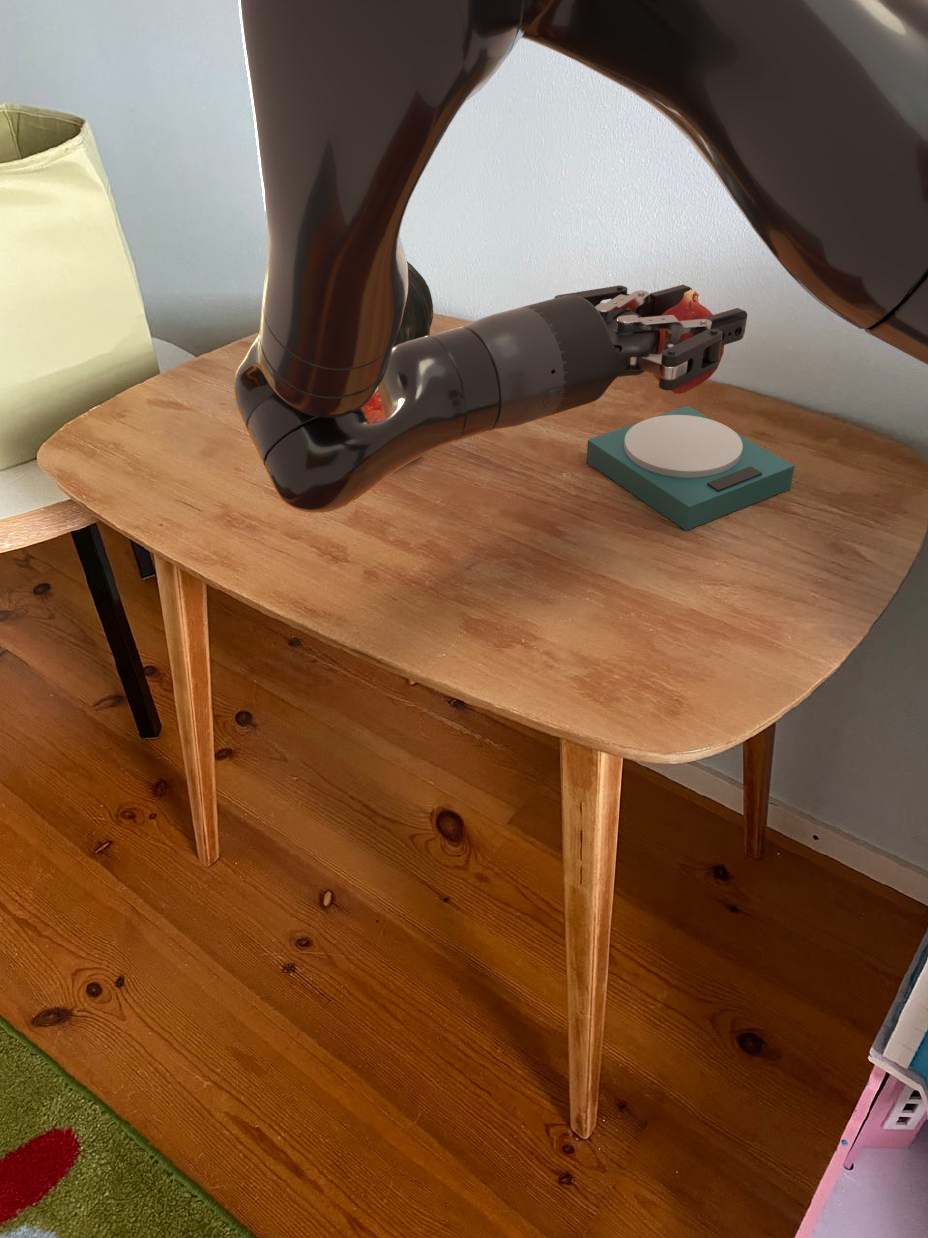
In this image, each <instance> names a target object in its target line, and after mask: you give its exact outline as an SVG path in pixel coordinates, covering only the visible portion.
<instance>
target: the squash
mask: <svg viewBox="0 0 928 1238" xmlns="http://www.w3.org/2000/svg"><path fill="white" fill-rule="evenodd" d="M407 265H408V293H407V299H406V305H405V309H404V313H403V317H402V321H401V325H400V329H399V332H398V335H397V338H396V341H395V344H394V346H396V345H398V344H401V343H403V342H406V341H410V340H414V339H417V338H421V337H425V336H429V335H431V326H432V324H433V319H434V304H433V297H432V294H431V290H430V287H429V285H428V283H427V281H426V280H425V278H424V277H423V275H422V274H421V273H420V272H419V271H418V270H417V269H416V267H414V266H413V264H411V263H410V262H409V261H408V260H407Z"/></svg>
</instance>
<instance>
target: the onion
mask: <svg viewBox="0 0 928 1238" xmlns="http://www.w3.org/2000/svg"><path fill="white" fill-rule="evenodd" d="M699 296H700V294H699V293H698V292H697V291H695V289H692V290H691V289H690V290H689V291H687V292H685V293H684V298H683V299H682V301H681V302H680V303H679V304H678V305H676V306H674V307H672V308H670V309H668V310H667V311H665V312H664V313H663V314H662V315H661V316H664V315H674V316H675V317H676V318H677V319H678V320H679V321H684V320H695V319H703V318H704V317H708V316H711V315H714V313H712V311H710V309H709V308H707V307H705V306H704V305H703V304H701V303H700V301H699V299H698V298H699ZM659 331H660V344H659V351H658V353H657V354H660V353H661V352H662V351H663V348H664V338H665V329H661V330H659ZM691 337H693V333H685V334H683V335H682V336H681V338H680V343H681V342H683V341H685V340H687V339H689V338H691ZM724 352H725V345H723V346H721V349H720V356H719V364H718V367H717V368H715V369H713V370H711V371H709V372H707V373H705V374H703V375H701V376H699V377H697V378H696V379H694V380H692V381H690V382H688V383H686V384H684V385H682V386H680V387H678V388H676V389H674V390H670V391H671V392H672V393H673V394H677V395H682V394H684V393H686V392H689V391H691V390H693V389H695V388H697V387H698V386H700V385H701V384H703V383H704V382H705V381H707V380H709V379H710V378H711V377H712V376H713V375H714V373H715V372H716V371H717V369H718V368H719V365H720V363H721V361H722V358H723V356H724ZM652 375H653V376H654V377H655V379H656V380H657V381H658V382H659V378H660V376H657V375H654V374H652Z"/></svg>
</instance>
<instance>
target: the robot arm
mask: <svg viewBox="0 0 928 1238" xmlns="http://www.w3.org/2000/svg"><path fill="white" fill-rule="evenodd" d="M238 7H239V17H240V18H239V20H240V24H241V25H240V26H241V33H242V35H241V36H242V43H243V49H244V57H245V65H246V71H247V77H248V85H249V91H250V99H251V105H252V113H253V121H254V130H255V139H256V140H255V141H256V146H257V148H256V149H257V155H258V164H259V173H260V180H261V187H262V196H263V203H264V204H263V205H264V215H265V224H266V225H265V226H266V227H265V229H266V261H265V263H266V264H265V274H264V283H263V292H262V302H261V313H260V321H259V322H260V323H259V334H258V335H257V336H256V338H255V340H254V341H253V342H252V344H251V346H250V347H249V349H248V351H247V353H246V355H245V356H244V358H243V359H242V361H241V362H240V364H239V366H238V367H237V369H236V372H235V375H234V381H233V383H234V384H233V387H234V396H235V402H236V406H237V410H238V413H239V415H240V418H241V420H242V422H243V424H244V427H245V429H246V431H247V432H248V434H249V437H250V439H251V441H252V443H253V445H254V447H255V449H256V451H257V454H258V456H259V458H260V460H261V462H262V464H263V466H264V469H265V471H266V473H267V475H268V477H269V479H270V482H271V484H272V486H273V488H274V490H275V491H276V493H277V495H278V496H279V498H280V499H281V500H282V501H283V502H284V503H285V504H286V505H287V506H289V507H291V508H293V509H294V510H298V511H301V512H305V513H312V514H316V513H317V514H318V513H319V514H320V513H321V514H322V513H323V514H324V513H328V512H330V513H331V512H333V511H336V510H339V509H342V508H343V507H346V506H348V505H350V504H351V503H353V502H354V501H356V500H358V499H359V498H360V497H362V496H363V495H365V494H366V493H368V492H369V491H370V490H371V489H373V488H374V487H375V486H377V485H378V484H379V483H381V482H382V481H383V480H385V479H386V478H388V477H389V476H391V475H392V474H394V473H395V472H397V471H398V470H400V469H402V468H403V467H406V466H407V465H408V464H410V463H412V462H414V461H415V460H417V459H418V458H421V457H423V456H424V455H426V454H428V453H430V452H432V451H434V450H436V449H438V448H440V447H443V446H445V445H448V444H452V443H455V442H458V441H461V440H464V439H467V438H471V437H474V436H478V435H480V434H484V433H486V432H491V431H494V430H495V431H496V430H499V429H507V428H512V427H517V426H522V425H525V424H528V423H531V422H534V421H537V420H540V419H544V418H546V417H550V416H553V415H556V414H559V413H562V412H566V411H569V410H571V409H575V408H579V407H581V406H584V405H587V404H590V403H594V402H596V401H597V400H599V399H601V398H602V396H604V394H605V393H606V392H607V390H608V389H609V387H610V386H611V385H612V384H613V383H614V381H615V380H616V379H618V378H621V377H631V376H632V377H635V376H639V375H642V374H644V373H645V372H646V373H649V374H652V375H653V374H654V375H657V376H660V378H659V381H658V388H659V389H661V390H662V391H671V390H674V389H676V388H678V387H680V386H682V385H684V384H686V383H688V382H690V381H692V380H694V379H696V378H697V377H699V376H701V375H703V374H705V373H707V372H709V371H711V370H713V369H715V368H717V367H718V368H719V366H718V364H719V365H720V363H719V356H720V349H721V346H723V345H724V346H726V345H729V344H732V343H735V342H736V343H737V342H739V341H741V340H742V339H744V335H745V332H746V326H747V321H748V312H747V311H746V310H744V309H741V308H739V307H735V308H733V309H728V310H726V311H722V312H718V313H714V314H713V315H711V316H708V317H704V318H703V319H695V320H684V321H679V320H678V319H677V318H676V317H675V316H674V315H664V316H661V315H662V314H663V313H664V312H665V311H667V310H668V309H670V308H672V307H674V306H676V305H678V304H679V303H680V302H681V301H682V299H683V298H684V293H685V292H687V291H689V290H690V289H691V290H693V288H692V287H690V286H688V285H686V284H679V285H677V286H673V287H668V288H665V289H661V290H657V291H654V292H651V293H649V292H648V291H645V290H635V291H633V292H632V293H628V287H627V286H625V285H622V284H621V285H619V284H618V285H613V286H606V287H600V288H595V289H587V290H582V291H576V292H570V293H563V294H557V295H555V296H554V297H553V298H551V299H548V300H543V301H539V302H536V303H532V304H528V305H525V306H520V307H516V308H513V309H509V310H506V311H502V312H497V313H494V314H490V315H487V316H484V317H481V318H479V319H477V320H474V321H472V322H470V323H468V324H466V325H462V326H460V327H456V328H451V329H448V330H444V331H440V332H436V333H433V334H430V335H429V336H425V337H421V338H417V339H414V340H410V341H406V342H403V343H401V344H398V345H396V346H394V344H395V341H396V338H397V335H398V332H399V329H400V325H401V321H402V317H403V313H404V309H405V305H406V299H407V293H408V265H407V261H408V260H407V256H406V252H405V249H404V245H403V242H402V240H401V236H400V235H401V230H402V225H403V221H404V218H405V214H406V211H407V209H408V206H409V203H410V201H411V198H412V196H413V194H414V192H415V190H416V188H417V186H418V184H419V182H420V180H421V178H422V176H423V174H424V172H425V170H426V168H427V166H428V165H429V163H430V161H431V159H432V157H433V155H434V153H435V152H436V150H437V148H438V147H439V145H440V143H441V141H442V140H443V138H444V136H445V134H446V132H447V131H448V129H449V127H450V125H451V124H452V123H453V121H454V119H455V118H456V117H457V115H458V113H459V112H460V110H461V109H462V108H463V106H464V105H465V103H467V101H468V100H470V99H471V98H472V97H474V96H475V95H477V94H478V93H479V92H481V90H483V88H484V87H486V85H487V84H488V83H489V81H491V79H492V78H493V76H494V75H495V74H496V73H497V72H498V70H499V69H500V68H501V66H502V64H503V63H504V62H505V60H506V59H507V58H508V56H509V55H510V53H511V52H512V50H513V49H514V48H515V47H516V45H517V44H518V42H520V40H521V39H523V40H525V41H529V42H532V43H534V44H537V45H539V46H542V47H544V48H548V49H549V50H551V51H555V52H556V53H558V54H561V55H563V56H565V57H567V58H569V59H571V60H573V61H575V62H576V63H579V64H580V65H582V66H584V67H586V68H588V69H589V70H591V71H593V72H595V73H597V74H598V75H601V76H602V77H604V78H606V79H608V80H610V81H612V82H614V83H615V84H617V85H619V86H621V87H623V88H624V89H626V90H628V91H629V92H630V93H632V94H634V95H635V96H636V97H638V98H639V99H641V100H643V101H644V102H646V103H647V104H649V105H650V106H651V107H652V108H654V109H655V110H656V111H658V112H659V113H660V114H661V115H662V116H664V118H666V120H668V121H669V122H670V123H671V124H672V125H673V127H675V128H676V129H677V130H678V131H679V132H680V133H681V135H683V136H684V137H685V138H686V139H687V140H688V142H689V143H690V144H691V146H692V147H693V148H694V149H695V150H696V151H697V153H698V154H699V156H700V157H701V158H702V159H703V160H704V162H705V163H706V164H707V165H708V167H709V168H710V169H711V171H712V172H713V173H714V175H715V177H716V178H717V179H718V181H719V182H720V184H721V186H722V187H723V188H724V189H725V191H726V192H727V194H728V196H729V197H730V198H731V199H732V201H733V203H734V204H735V206H736V207H737V208H738V210H739V211H740V213H741V214H742V216H743V217H744V218H745V219H746V221H747V222H748V224H749V225H750V227H751V228H752V230H753V231H754V232H755V234H756V236H758V237H759V239H760V240H761V242H763V244H764V246H765V247H766V248H767V249H768V250H769V251H770V253H771V254H772V255H773V257H774V258H775V259H776V260H777V262H778V263H779V264H780V265H781V266H782V267H783V268H784V270H785V271H786V272H787V273H788V274H789V276H791V277H792V278H793V280H794V281H795V282H796V283H797V284H798V285H799V286H800V287H801V288H802V289H803V290H804V291H805V292H807V293H808V294H809V295H810V296H811V297H812V298H814V300H816V301H817V302H818V303H819V304H820V305H822V306H823V307H824V308H826V309H827V310H829V311H830V312H831V313H833V314H834V315H836V316H838V317H839V318H841V319H843V320H844V321H846V322H847V323H848V324H851V325H853V326H854V327H856V328H857V329H860V330H864V332H865V333H867V334H868V335H870V336H873V337H875V338H876V339H878V340H879V341H882V342H884V343H885V344H887V345H889V346H891V347H893V348H895V349H897V350H899V351H901V352H902V353H904V354H906V355H908V356H909V357H912V358H914V359H916V360H917V361H919V362H921V363H923V364H925V365H927V366H928V0H238ZM607 300H609V301H607ZM602 301H607V302H602ZM661 329H665V338H664V348H663V351H662V352H661V353H660V354H657V353H658V351H659V344H660V331H659V330H661ZM685 333H693V337H691V338H689V339H687V340H685V341H683V342H681V343H680V338H681V336H682V335H683V334H685ZM718 368H717V369H718ZM654 375H653V376H654ZM378 388H379V391H380V397H381V402H382V406H383V411H384V415H385V420H383V421H380V422H376V423H370V422H369V420H368V419H367V417H366V415H365V413H364V411H363V409H362V407H363V406H364V405H365V404H367V403H368V402H369V401H370V400H371V398H372V397H373V396H374V395H375V393H376V392H377V390H378Z"/></svg>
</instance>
